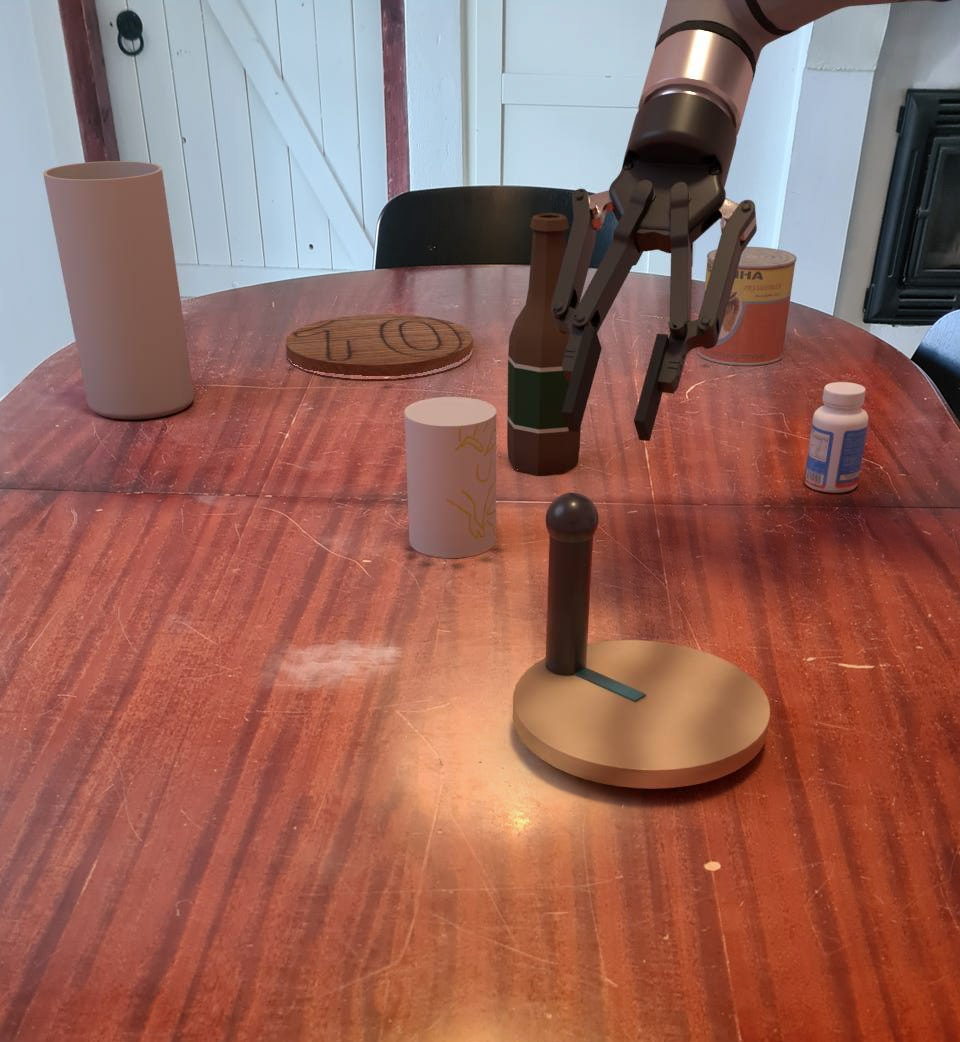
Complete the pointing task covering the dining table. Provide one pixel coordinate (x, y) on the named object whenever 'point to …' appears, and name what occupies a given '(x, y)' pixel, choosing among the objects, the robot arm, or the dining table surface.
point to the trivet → (378, 345)
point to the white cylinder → (451, 476)
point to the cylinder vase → (121, 286)
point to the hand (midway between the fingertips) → (605, 425)
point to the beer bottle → (540, 364)
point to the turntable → (628, 688)
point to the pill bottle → (837, 439)
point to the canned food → (754, 309)
